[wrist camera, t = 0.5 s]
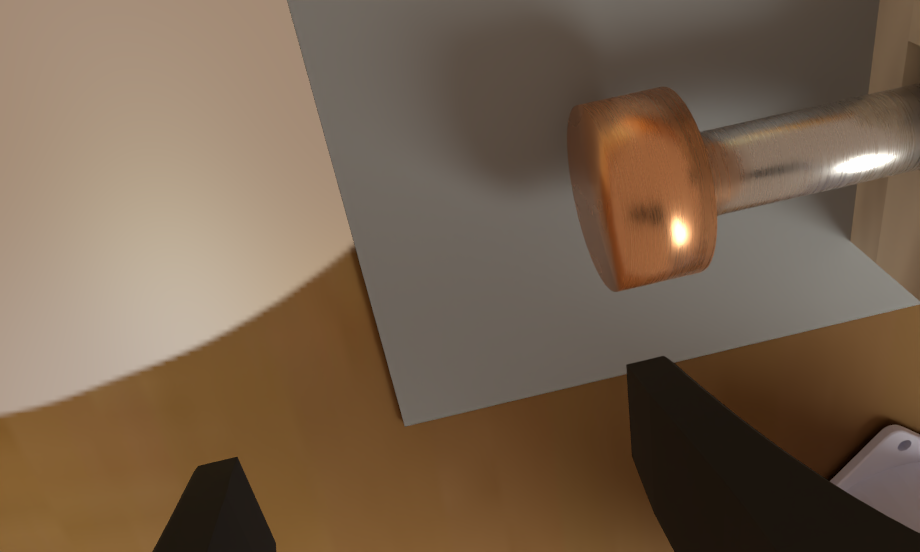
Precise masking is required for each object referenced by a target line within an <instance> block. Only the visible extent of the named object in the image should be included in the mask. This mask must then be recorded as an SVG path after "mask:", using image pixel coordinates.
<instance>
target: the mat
mask: <svg viewBox="0 0 920 552" xmlns="http://www.w3.org/2000/svg"><path fill="white" fill-rule="evenodd" d="M287 2H288V5H289V9H290V13H291V16H292V20H293V23H294V27H295V30H296V34H297V38H298V42H299V45H300V49H301V52H302V56H303V60H304V63H305V67H306V71H307V74H308V77H309V81H310V85H311V89H312V92H313V96H314V100H315V103H316V107H317V110H318V114H319V118H320V121H321V125H322V128H323V132H324V136H325V139H326V143H327V146H328V150H329V154H330V157H331V161H332V165H333V168H334V172H335V176H336V179H337V183H338V186H339V190H340V193H341V197H342V201H343V204H344V208H345V211H346V215H347V219H348V222H349V226H350V230H351V233H352V237H353V241H354V244H355V248H356V252H357V255H358V259H359V262H360V266H361V270H362V273H363V277H364V281H365V284H366V288H367V291H368V295H369V299H370V302H371V306H372V309H373V313H374V317H375V320H376V324H377V328H378V331H379V335H380V338H381V342H382V346H383V349H384V353H385V357H386V360H387V364H388V367H389V371H390V375H391V378H392V382H393V385H394V389H395V393H396V396H397V400H398V404H399V407H400V411H401V414H402V418H403V422H404V425H405V426H409V425H414V424H418V423H422V422H426V421H430V420H435V419H439V418H443V417H447V416H452V415H456V414H460V413H464V412H468V411H473V410H477V409H481V408H485V407H489V406H494V405H498V404H502V403H506V402H510V401H515V400H519V399H523V398H527V397H531V396H536V395H540V394H544V393H548V392H553V391H557V390H561V389H565V388H569V387H574V386H578V385H582V384H586V383H590V382H595V381H599V380H603V379H607V378H611V377H616V376H620V375H624V374H627V368H626V365H627V364H631V363H635V362H639V361H643V360H648V359H652V358H656V357H660V356H665V357H667V358H668V359H670V360H671V361H672V362H673V363H675V362H679V361H683V360H687V359H691V358H696V357H700V356H704V355H708V354H712V353H717V352H721V351H725V350H729V349H733V348H738V347H742V346H746V345H750V344H755V343H759V342H763V341H767V340H771V339H776V338H780V337H784V336H788V335H792V334H797V333H801V332H805V331H809V330H813V329H818V328H822V327H826V326H830V325H834V324H839V323H843V322H847V321H851V320H856V319H860V318H864V317H868V316H872V315H877V314H881V313H885V312H889V311H893V310H898V309H902V308H906V307H910V306H914V305H919V304H920V301H919V300H918V299H917V298H915V297H914V296H913V295H912V294H911V293H910V292H908V291H907V290H906V289H905V288H904V287H903V286H901V285H900V284H899V283H898V282H897V281H896V280H895V279H893V278H892V277H891V276H890V275H889V274H888V273H886V272H885V271H884V270H883V269H882V268H881V267H879V266H878V265H877V264H876V263H875V262H874V261H872V260H871V259H870V258H869V257H868V256H867V255H866V254H864V253H863V252H862V251H861V250H860V249H859V248H857V247H856V246H855V245H854V244H853V243H852V242H850V239H851V231H852V223H853V214H854V206H855V198H856V190H857V184H854V185H849V186H845V187H841V188H836V189H832V190H827V191H823V192H819V193H814V194H810V195H806V196H801V197H797V198H793V199H788V200H784V201H779V202H775V203H771V204H766V205H762V206H758V207H753V208H749V209H745V210H740V211H736V212H731V213H727V214H723V215H718V216H717V238H716V246H715V251H714V255H713V258H712V260H711V263H710V264H709V266H708V267H707V268H706V269H705V270H704V271H703V272H701V273H696V274H692V275H688V276H684V277H679V278H675V279H671V280H666V281H662V282H658V283H653V284H649V285H645V286H641V287H636V288H632V289H628V290H623V291H619V292H613V291H611V290H610V289H609V288H608V287H607V286H606V285H605V284H604V282H603V281H602V279H601V278H600V276H599V274H598V272H597V270H596V268H595V266H594V264H593V261H592V259H591V256H590V254H589V251H588V248H587V246H586V243H585V239H584V236H583V233H582V230H581V226H580V222H579V219H578V215H577V210H576V206H575V201H574V196H573V191H572V185H571V179H570V172H569V164H568V152H567V127H568V119H569V115H570V112H571V110H572V108H573V107H574V106H576V105H580V104H584V103H589V102H594V101H598V100H603V99H607V98H612V97H616V96H621V95H625V94H630V93H634V92H639V91H643V90H648V89H653V88H657V87H668V88H671V89H672V90H673V91H675V92H676V93H677V94H678V95H679V96H680V97H681V98H682V100H683V101H684V102H685V104H686V105H687V107H688V109H689V110H690V112H691V114H692V116H693V118H694V120H695V122H696V124H697V127H698V129H699V131H700V132H702V131H706V130H711V129H715V128H719V127H724V126H728V125H733V124H737V123H742V122H746V121H751V120H755V119H760V118H764V117H769V116H773V115H778V114H782V113H787V112H791V111H795V110H800V109H804V108H809V107H813V106H818V105H822V104H827V103H831V102H836V101H840V100H845V99H849V98H854V97H858V96H863V95H867V94H868V92H869V84H870V75H871V67H872V59H873V51H874V43H875V34H876V26H877V18H878V10H879V2H880V0H287Z"/></svg>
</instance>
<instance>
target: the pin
mask: <svg viewBox="0 0 920 552" xmlns="http://www.w3.org/2000/svg"><path fill="white" fill-rule="evenodd" d="M567 152H568V164H569V172H570V179H571V185H572V191H573V196H574V201H575V206H576V210H577V215H578V219H579V222H580V226H581V230H582V233H583V236H584V239H585V243H586V246H587V248H588V251H589V254H590V256H591V259H592V261H593V264H594V266H595V268H596V270H597V272H598V274H599V276H600V278H601V279H602V281H603V282H604V284H605V285H606V286H607V287H608V288H609V289H610V290H611V291H613V292H619V291H623V290H628V289H632V288H636V287H641V286H645V285H649V284H653V283H658V282H662V281H666V280H671V279H675V278H679V277H684V276H688V275H692V274H696V273H701V272H703V271H704V270H705V269H706V268H707V267H708V266H709V264H710V263H711V260H712V258H713V255H714V251H715V246H716V238H717V216H718V215H723V214H727V213H731V212H736V211H740V210H745V209H749V208H753V207H758V206H762V205H766V204H771V203H775V202H779V201H784V200H788V199H793V198H797V197H801V196H806V195H810V194H814V193H819V192H823V191H827V190H832V189H836V188H841V187H845V186H849V185H854V184H858V183H862V182H867V181H871V180H875V179H880V178H884V177H889V176H893V175H897V174H902V173H906V172H910V171H915V170H919V169H920V83H916V84H912V85H907V86H903V87H898V88H894V89H889V90H885V91H880V92H876V93H871V94H867V95H863V96H858V97H854V98H849V99H845V100H840V101H836V102H831V103H827V104H822V105H818V106H813V107H809V108H804V109H800V110H795V111H791V112H787V113H782V114H778V115H773V116H769V117H764V118H760V119H755V120H751V121H746V122H742V123H737V124H733V125H728V126H724V127H719V128H715V129H711V130H706V131H702V132H700V131H699V129H698V127H697V124H696V122H695V120H694V118H693V116H692V114H691V112H690V110H689V109H688V107H687V105H686V104H685V102H684V101H683V100H682V98H681V97H680V96H679V95H678V94H677V93H676V92H675V91H673V90H672V89H671V88H668V87H657V88H653V89H648V90H643V91H639V92H634V93H630V94H625V95H621V96H616V97H612V98H607V99H603V100H598V101H594V102H589V103H584V104H580V105H576V106H574V107H573V108H572V110H571V112H570V115H569V119H568V127H567Z"/></svg>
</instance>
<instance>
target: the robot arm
mask: <svg viewBox="0 0 920 552" xmlns="http://www.w3.org/2000/svg"><path fill="white" fill-rule="evenodd" d="M626 368H627V384H628V399H629V415H630V431H631V446H632V457H633V460H634V462H635V465H636V468H637V470H638V473H639V476H640V478H641V481H642V483H643V486H644V489H645V491H646V494H647V496H648V499H649V501H650V504H651V506H652V509H653V511H654V514H655V515H656V517H657V519H658V521H659V523H660V525H661V527H662V529H663V531H664V533H665V535H666V536H667V538H668V540H669V542H670V544H671V546H672V548H673V550H674V552H920V434H918V433H916V432H913V431H911V430H909V429H907V428H905V427H902V426H900V425H889V426H887V427H885V428H884V429H882V430H881V431H880V432H879V433H878V434H877V435H876V436H875V437H874V438H873V439H872V440H871V441H870V442H869V443H868V444H867V445H866V446H865V447H864V448H863V449H862V450H861V451H860V452H859V453H858V454H857V455H856V456H855V457H854V458H853V459H852V460H851V461H850V462H849V463H848V464H847V465H846V466H845V467H844V468H843V469H842V470H841V471H840V472H839V473H838V474H837V475H835V476H834V477H833V478H832V479H831V480H830V481H828V480H827V479H825V478H824V477H822V476H821V475H819V474H818V473H816V472H815V471H813V470H812V469H810V468H809V467H807V466H806V465H804V464H803V463H801V462H800V461H798V460H797V459H795V458H794V457H792V456H791V455H790V454H788V453H787V452H785V451H784V450H783V449H781V448H780V447H778V446H777V445H776V444H774V443H773V442H772V441H770V440H769V439H768V438H766V437H765V436H764V435H762V434H761V433H760V432H758V431H757V430H756V429H754V428H753V427H752V426H750V425H749V424H748V423H746V422H745V421H744V420H742V419H741V418H740V417H738V416H737V415H736V414H735V413H733V412H732V411H731V410H730V409H728V408H727V407H726V406H725V405H723V404H722V403H721V402H720V401H718V400H717V399H716V398H715V397H714V396H712V395H711V394H710V393H709V392H707V391H706V390H705V389H704V388H703V387H701V386H700V385H699V384H698V383H697V382H696V381H694V380H693V379H692V378H691V377H690V376H688V375H687V374H686V373H685V372H684V371H683V370H681V369H680V368H679V367H678V366H677V365H676V364H675V363H673V362H672V361H671V360H670V359H668V358H667V357H665V356H660V357H656V358H652V359H648V360H643V361H639V362H635V363H631V364H627V365H626ZM153 552H276V542H275V540H274V538H273V536H272V533H271V531H270V529H269V527H268V525H267V522H266V520H265V518H264V516H263V513H262V511H261V509H260V507H259V504H258V502H257V500H256V498H255V495H254V493H253V491H252V489H251V487H250V484H249V482H248V480H247V478H246V475H245V473H244V471H243V469H242V466H241V464H240V462H239V460H238V457H234V458H230V459H226V460H222V461H218V462H213V463H209V464H205V465H201V466H198V467H197V468H196V470H195V471H194V473H193V475H192V477H191V479H190V480H189V482H188V484H187V486H186V488H185V490H184V492H183V494H182V496H181V498H180V500H179V502H178V504H177V506H176V508H175V510H174V512H173V514H172V516H171V518H170V520H169V521H168V523H167V525H166V527H165V529H164V531H163V533H162V535H161V537H160V539H159V540H158V542H157V544H156V546H155V548H154V550H153Z"/></svg>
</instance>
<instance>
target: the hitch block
mask: <svg viewBox="0 0 920 552" xmlns="http://www.w3.org/2000/svg"><path fill="white" fill-rule="evenodd" d="M916 83H920V0H880V2H879V10H878V18H877V26H876V34H875V43H874V51H873V59H872V67H871V75H870V84H869V92H868V94H871V93H876V92H880V91H885V90H889V89H894V88H898V87H903V86H907V85H912V84H916ZM850 242H852V243H853V244H854V245H855V246H856V247H857V248H859V249H860V250H861V251H862V252H863V253H864V254H866V255H867V256H868V257H869V258H870V259H871V260H872V261H874V262H875V263H876V264H877V265H878V266H879V267H881V268H882V269H883V270H884V271H885V272H886V273H888V274H889V275H890V276H891V277H892V278H893V279H895V280H896V281H897V282H898V283H899V284H900V285H901V286H903V287H904V288H905V289H906V290H907V291H908V292H910V293H911V294H912V295H913V296H914V297H915V298H917V299H918V300H919V301H920V169H919V170H915V171H910V172H906V173H902V174H897V175H893V176H889V177H884V178H880V179H875V180H871V181H867V182H862V183H858V184H857V190H856V198H855V206H854V214H853V223H852V231H851V239H850Z"/></svg>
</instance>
